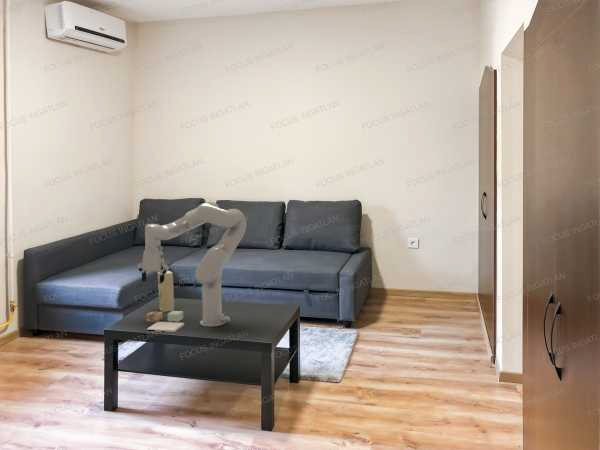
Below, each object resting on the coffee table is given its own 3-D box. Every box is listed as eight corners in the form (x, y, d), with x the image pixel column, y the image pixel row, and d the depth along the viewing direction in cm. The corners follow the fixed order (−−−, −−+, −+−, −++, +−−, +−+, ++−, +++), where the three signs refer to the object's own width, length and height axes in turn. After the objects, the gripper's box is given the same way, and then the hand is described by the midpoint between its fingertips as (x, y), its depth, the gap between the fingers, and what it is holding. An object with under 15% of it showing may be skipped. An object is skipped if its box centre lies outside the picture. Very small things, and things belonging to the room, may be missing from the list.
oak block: (162, 319, 290) (162, 312, 290) (157, 322, 284) (157, 315, 284) (152, 318, 291) (151, 311, 291) (146, 322, 286) (146, 314, 285)
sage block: (183, 318, 291) (183, 311, 291) (178, 322, 285) (178, 314, 285) (172, 318, 292) (172, 310, 292) (167, 321, 286) (167, 313, 286)
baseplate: (184, 324, 279) (184, 323, 279) (174, 332, 268) (174, 330, 268) (157, 323, 282) (157, 321, 282) (147, 330, 270) (146, 328, 270)
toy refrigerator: (157, 309, 310) (156, 271, 307) (170, 307, 313) (169, 270, 311) (161, 312, 303) (159, 274, 300) (174, 310, 306) (173, 272, 304)
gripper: (172, 248, 285) (172, 281, 287) (141, 246, 289) (141, 278, 291) (165, 250, 278) (165, 284, 280) (133, 248, 282) (133, 282, 284)
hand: (153, 281), depth 285 cm, fingers open, 9 cm apart
